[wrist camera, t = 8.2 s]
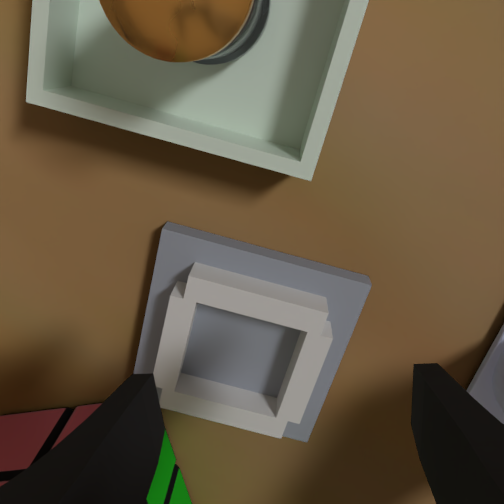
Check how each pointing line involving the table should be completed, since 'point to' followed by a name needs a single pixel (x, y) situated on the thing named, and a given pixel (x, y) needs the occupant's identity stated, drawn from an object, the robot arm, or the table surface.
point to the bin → (202, 81)
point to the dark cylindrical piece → (189, 27)
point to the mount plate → (245, 331)
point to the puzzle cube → (55, 430)
